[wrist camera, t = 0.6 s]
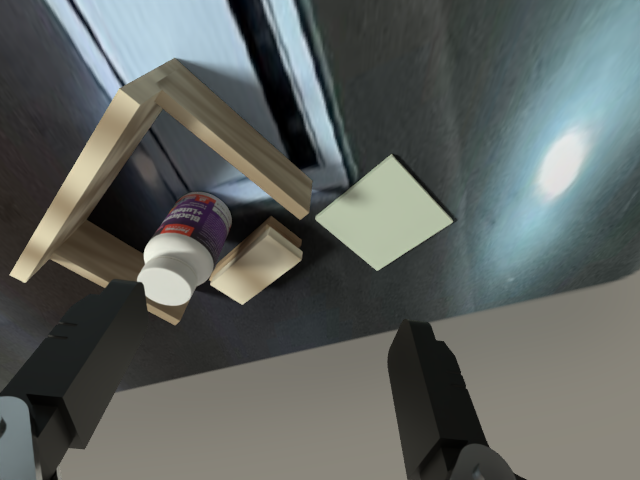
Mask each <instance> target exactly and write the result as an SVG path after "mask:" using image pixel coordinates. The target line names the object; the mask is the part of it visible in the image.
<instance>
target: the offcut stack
mask: <svg viewBox="0 0 640 480" xmlns="http://www.w3.org/2000/svg"><path fill="white" fill-rule="evenodd" d="M301 242H302V240H301V239H300V238H299V237H297V236H296V235H295V234H294V233H292V232H291V231H290V230H289V229H287V228H286V227H285V226H283V225H282V224H281V223H280V222H278V221H277V220H276V219H275V218H273V217H272V216H270V217H269V218H268V219H267V220H266V221H265V222H264V223H262V224H261V225H260V226H259V227H258V228H257V229H256V230H255V231H253V232H252V233H251V234H250V235H249V236H248V237H247V238H246V239H244V240H243V241H242V242H241V243H240V244H239V245H238V246H237V247H235V248H234V249H233V250H232V251H231V252H230V253H229V254H228V255H226V256H225V257H224V258H223V259H222V260H221V261H220V262H219V263H217V265H216V267H215V270H214V271H213V272H212V274H211V276H210V279H209V280H210V281H211V283H210V285H211V286H213V287H214V288H216V289H218V290H219V291H221V292H222V293H224V294H226V295H227V296H229V297H230V298H232V299H234V300H235V301H237V302H238V303H240V304H242V305H243V304H244V303H245V302H247V301H248V300H249V299H251V298H252V297H253V296H255V295H256V294H257V293H259V292H260V291H261V290H263V289H264V288H265V287H267V286H268V285H269V284H271V283H272V282H273V281H275V280H276V279H277V278H279V277H280V276H281V275H283V274H284V273H285V272H287V271H288V270H289V269H291V268H292V267H293V266H295V265H296V264H297V263H299V262H300V261H301V260H302V254H303V252H302V251H301V250H300V249H298V248H299V247H300V246H301Z"/></svg>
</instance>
